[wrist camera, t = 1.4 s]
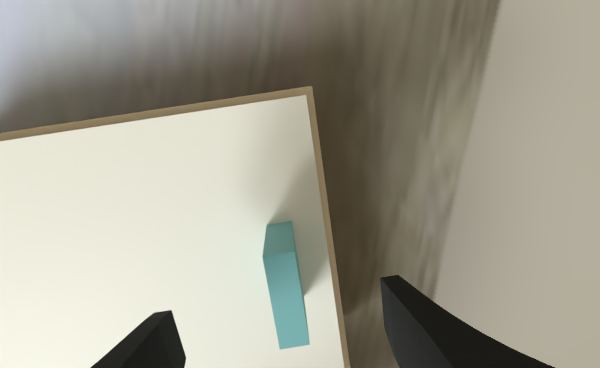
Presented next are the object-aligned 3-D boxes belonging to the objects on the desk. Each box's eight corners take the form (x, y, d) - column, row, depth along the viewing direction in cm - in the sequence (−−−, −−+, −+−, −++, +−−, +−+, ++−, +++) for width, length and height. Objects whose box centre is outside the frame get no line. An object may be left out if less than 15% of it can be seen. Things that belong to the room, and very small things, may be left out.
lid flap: (344, 375, 18) (362, 449, 14) (-4, 434, 18) (-87, 528, 14) (305, 95, 15) (313, 89, 11) (-124, 160, 14) (-279, 179, 10)
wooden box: (336, 321, 23) (351, 376, 19) (56, 368, 23) (-4, 436, 18) (304, 92, 20) (312, 85, 15) (-27, 142, 20) (-129, 152, 15)
